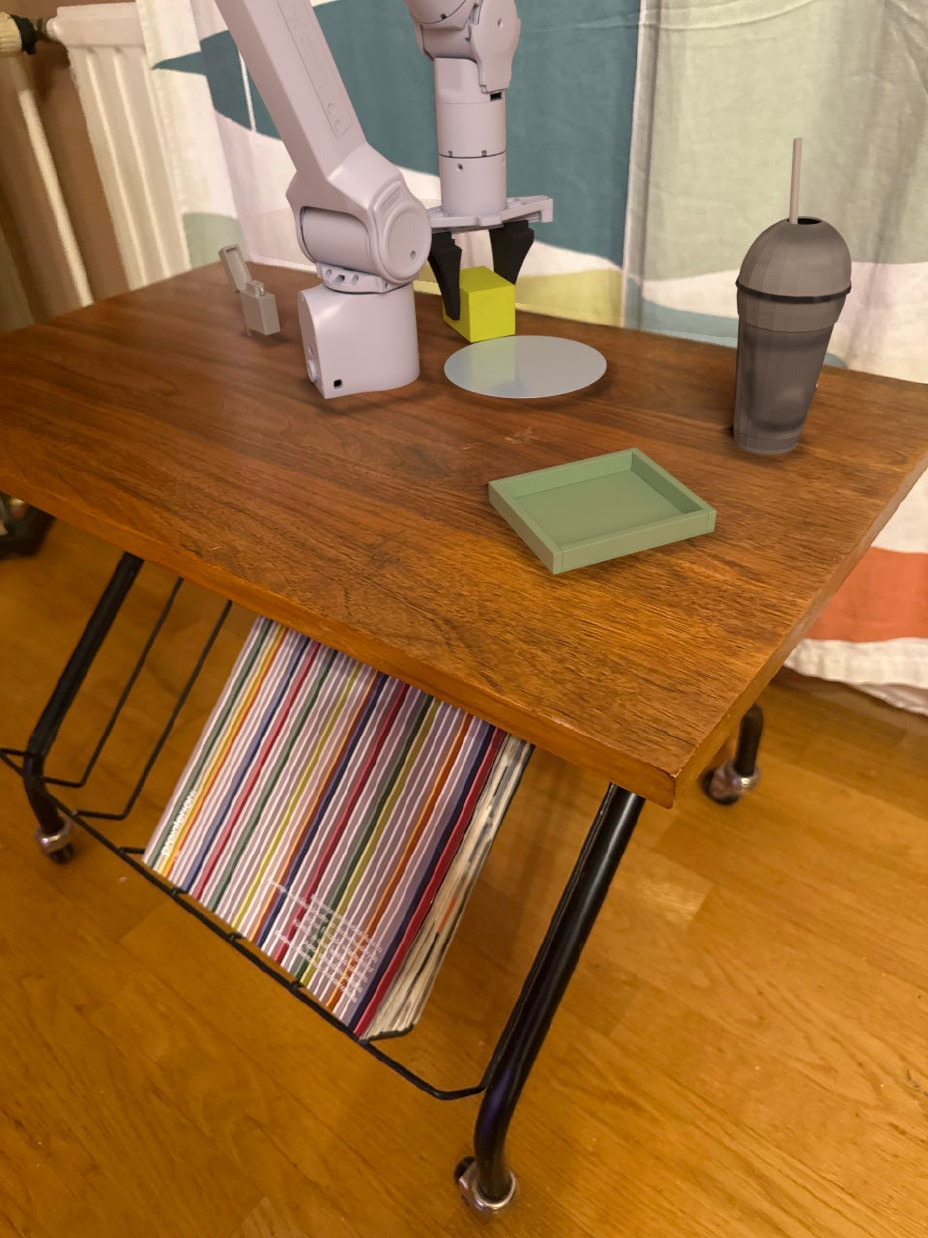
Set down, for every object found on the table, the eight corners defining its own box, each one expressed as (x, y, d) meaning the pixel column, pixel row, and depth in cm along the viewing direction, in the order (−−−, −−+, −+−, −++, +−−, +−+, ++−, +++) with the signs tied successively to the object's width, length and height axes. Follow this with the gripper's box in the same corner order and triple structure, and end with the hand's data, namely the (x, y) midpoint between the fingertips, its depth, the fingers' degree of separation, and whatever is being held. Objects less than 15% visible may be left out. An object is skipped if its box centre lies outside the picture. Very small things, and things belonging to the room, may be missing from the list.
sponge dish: (553, 579, 53) (553, 554, 52) (488, 505, 61) (488, 481, 59) (713, 535, 56) (717, 510, 55) (634, 469, 64) (636, 446, 62)
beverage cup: (800, 476, 62) (867, 154, 50) (698, 454, 65) (738, 146, 53) (828, 434, 67) (895, 131, 54) (732, 415, 70) (775, 125, 58)
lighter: (283, 340, 87) (269, 254, 83) (267, 344, 87) (252, 258, 82) (247, 323, 92) (232, 240, 87) (232, 327, 91) (216, 244, 86)
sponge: (470, 343, 82) (468, 292, 79) (443, 320, 87) (440, 272, 84) (515, 334, 83) (515, 284, 80) (485, 312, 88) (484, 265, 86)
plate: (481, 422, 71) (481, 410, 70) (421, 362, 81) (421, 351, 81) (636, 388, 75) (637, 377, 74) (560, 336, 85) (560, 325, 85)
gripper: (407, 170, 71) (419, 339, 79) (570, 149, 75) (566, 312, 83) (379, 155, 76) (394, 315, 85) (533, 136, 80) (533, 291, 89)
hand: (477, 312), depth 84 cm, fingers closed on sponge, 4 cm apart
